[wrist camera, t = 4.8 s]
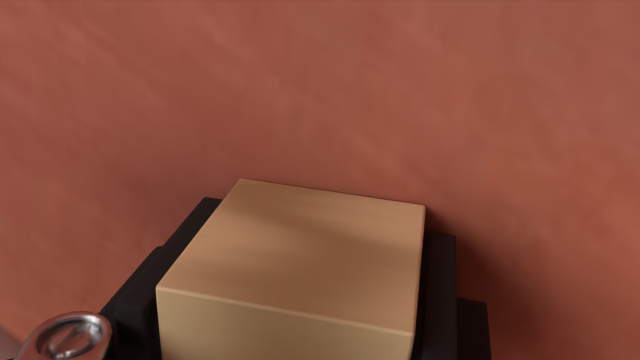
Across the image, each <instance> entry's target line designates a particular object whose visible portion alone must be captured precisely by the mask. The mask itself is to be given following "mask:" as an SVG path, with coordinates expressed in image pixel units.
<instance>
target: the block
mask: <svg viewBox="0 0 640 360" xmlns="http://www.w3.org/2000/svg"><path fill="white" fill-rule="evenodd" d="M425 211H426V208H425V206H423V205H418V204H411V203H404V202H398V201H391V200H384V199H377V198H371V197H364V196H357V195H351V194H344V193H337V192H330V191H324V190H317V189H310V188H304V187H297V186H290V185H283V184H277V183H270V182H263V181H256V180H250V179H243V178H242V179H239V180H238V182H237V183H236V184H235V185H234V187H233V188H232V189H231V191H230V192H229V193H228V194H227V196H226V197H225V198H224V200H223V201H222V202H221V203H220V205H219V206H218V207H217V209H216V210H215V211H214V212H213V214H212V215H211V216H210V218H209V219H208V220H207V221H206V223H205V224H204V225H203V227H202V228H201V229H200V230H199V232H198V233H197V234H196V236H195V237H194V238H193V239H192V241H191V242H190V243H189V245H188V246H187V247H186V248H185V250H184V251H183V252H182V254H181V255H180V256H179V257H178V259H177V260H176V261H175V263H174V264H173V265H172V266H171V268H170V269H169V270H168V272H167V273H166V274H165V276H164V277H163V278H162V279H161V281H160V282H159V283H158V285H157V286H156V299H157V310H158V322H159V333H160V344H161V355H162V360H411V355H412V349H413V344H414V338H415V328H416V316H417V305H418V293H419V281H420V270H421V258H422V246H423V235H424V223H425Z"/></svg>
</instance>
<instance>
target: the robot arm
mask: <svg viewBox="0 0 640 360" xmlns="http://www.w3.org/2000/svg"><path fill="white" fill-rule="evenodd" d="M222 201H223V200H221V199H215V198H208V197H205V198H203V199H202V200H201V202H200V203H199V204H198V205H197V206H196V207H195V209H194V210H193V211H192V212H191V213H190V215H189V216H188V217H187V218H186V219H185V220H184V222H183V223H182V224H181V225H180V226H179V227H178V229H177V230H176V231H175V232H174V233H173V235H172V236H171V237H170V238H169V239H168V240H167V242H166V243H165V244H164V245H163V246H159V247H156V248H155V249H154V250H153V251H152V252H151V253H150V254H149V256H148V257H147V258H146V259H145V260H144V261H143V262H142V264H141V265H140V266H139V267H138V268H137V269H136V271H135V272H134V273H133V274H132V275H131V276H130V277H129V279H128V280H127V281H126V282H125V283H124V284H123V286H122V287H121V288H120V289H119V290H118V291H117V292H116V294H115V295H114V296H113V297H112V298H111V299H110V301H109V302H108V303H107V304H106V305H105V306H104V307H103V309H102V310H101V311H100V312H99V313H98V314H97V313H94V312H88V311H75V312H69V313H65V314H60V315H58V316H56V317H53V318H51V319H48V320H47V321H45V322H44V323H42V324H41V325H39V326H38V327H37V328H36V329H35V330H34V331H33V332H32V333H31V334H30V335H29V337H28V338H27V340H26V341H25V343H24V344H23V346H22V347H21V349H20V350H19V352H18V353H17V354H16V356H15V357H14V358H12V359H9V360H162V355H161V344H160V333H159V322H158V310H157V299H156V286H157V285H158V283H159V282H160V281H161V279H162V278H163V277H164V276H165V274H166V273H167V272H168V270H169V269H170V268H171V266H172V265H173V264H174V263H175V261H176V260H177V259H178V257H179V256H180V255H181V254H182V252H183V251H184V250H185V248H186V247H187V246H188V245H189V243H190V242H191V241H192V239H193V238H194V237H195V236H196V234H197V233H198V232H199V230H200V229H201V228H202V227H203V225H204V224H205V223H206V221H207V220H208V219H209V218H210V216H211V215H212V214H213V212H214V211H215V210H216V209H217V207H218V206H219V205H220V203H221V202H222ZM411 360H492V359H491V347H490V335H489V324H488V312H487V305H486V303H485V302H482V301H476V300H470V299H464V298H459V297H457V290H456V236H452V235H445V234H439V233H433V232H430V235H429V239H428V238H423V246H422V258H421V270H420V281H419V293H418V305H417V316H416V328H415V338H414V344H413V349H412V355H411Z"/></svg>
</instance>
